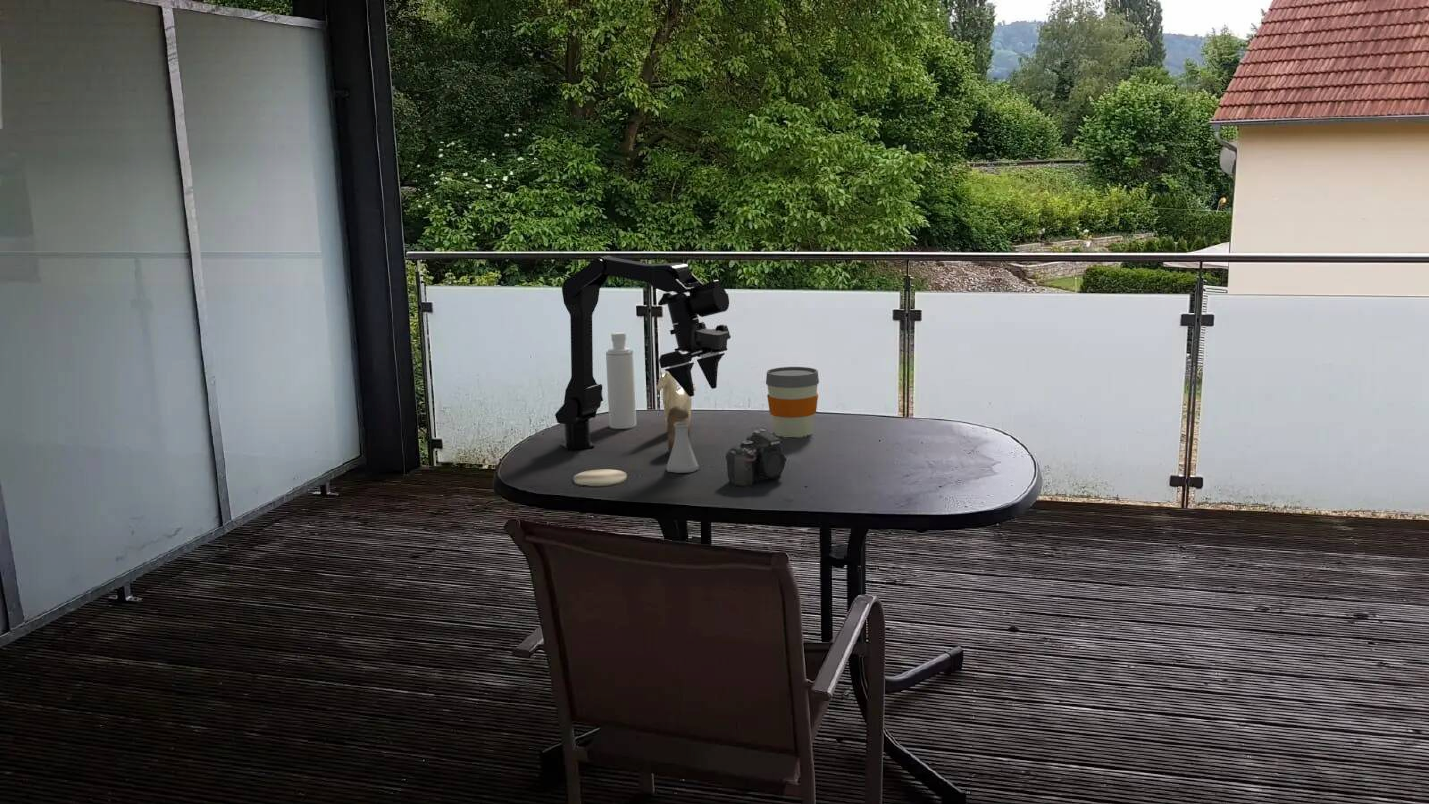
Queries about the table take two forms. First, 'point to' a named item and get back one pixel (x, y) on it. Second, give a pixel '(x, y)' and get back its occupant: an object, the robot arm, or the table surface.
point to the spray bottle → (620, 383)
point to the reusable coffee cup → (792, 400)
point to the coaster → (600, 477)
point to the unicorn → (673, 394)
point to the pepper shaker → (674, 417)
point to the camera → (755, 459)
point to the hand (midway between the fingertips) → (703, 392)
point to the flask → (682, 451)
